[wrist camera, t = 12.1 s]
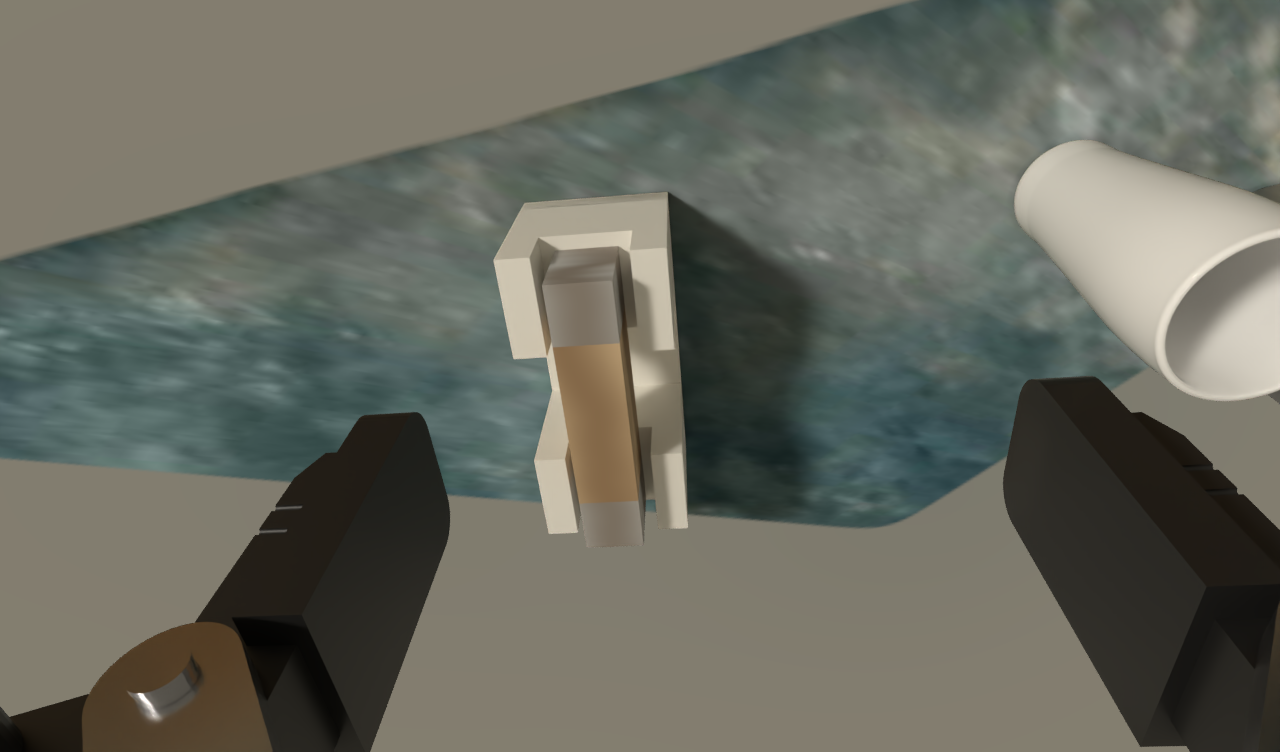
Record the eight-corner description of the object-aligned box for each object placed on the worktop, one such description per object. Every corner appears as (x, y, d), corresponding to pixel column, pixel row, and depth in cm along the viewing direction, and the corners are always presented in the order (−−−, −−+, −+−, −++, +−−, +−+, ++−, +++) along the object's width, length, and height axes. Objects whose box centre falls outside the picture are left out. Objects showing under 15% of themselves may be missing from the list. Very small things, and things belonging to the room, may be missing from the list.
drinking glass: (993, 140, 37) (1164, 251, 24) (1140, 106, 36) (1401, 203, 23) (995, 264, 40) (1147, 421, 27) (1130, 236, 39) (1352, 385, 26)
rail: (618, 246, 35) (612, 280, 31) (645, 495, 42) (643, 545, 39) (554, 250, 35) (541, 285, 32) (593, 497, 43) (586, 547, 39)
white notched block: (667, 191, 39) (666, 247, 32) (685, 440, 47) (688, 527, 40) (524, 203, 40) (493, 260, 33) (566, 446, 48) (548, 533, 41)
